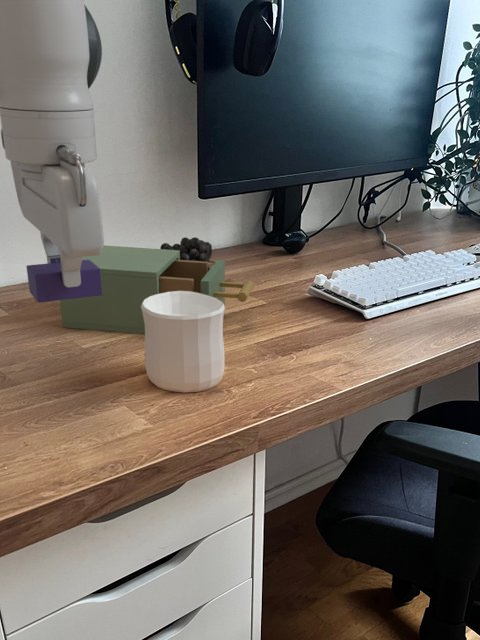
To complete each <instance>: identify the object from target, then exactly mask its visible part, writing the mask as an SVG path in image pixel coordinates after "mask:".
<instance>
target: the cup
mask: <svg viewBox="0 0 480 640" xmlns="http://www.w3.org/2000/svg"><path fill="white" fill-rule="evenodd" d="M141 309H142V313H143V318H144V323H145V334H144V349H143V350H144V367H145V368H144V369H145V372H146V375H147V377H148V379H149V381H150V382H151V383H152V384H153V385H154V386H156V387H157V388H159V389H161V390H165V391H169V392H175V393H184V394H185V393H186V394H187V393H198V392H202V391H207V390H210V389H212V388H215V387H217V386H218V385H219V383H221V380H222V379H223V377H224V374H225V371H226V370H225V367H226V366H225V364H226V363H225V362H226V361H225V357H226V356H225V353H226V352H225V342H224V333H223V332H224V314H225V310H226V306H224V304H223V303H222V301H220V300H218V299H216V298H214V297H211V296H208V295H204V294H201V293H196V292H191V291H172V292H166V293H161V294H156V295H153V296H150V297H148V298H146V299H145V300H144V301H143V303H142V305H141Z"/></svg>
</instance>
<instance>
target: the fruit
mask: <svg viewBox="0 0 480 640" xmlns="http://www.w3.org/2000/svg"><path fill="white" fill-rule="evenodd" d="M159 247H160V248H159V249H165V250H179V251H180V260H188V261H203V262H208V263H209V264H210V263H211V264H215V262H216V260H210V259H211V257H212V255H213V254H212V253H213V246H212V244H211V243H210V242H209V241H204V240H202V239H200V238H199V237H195V236H194V237H191V238H188V237H187V236H186V237H182V238H181V241H180V242H179V243H175V244H173V245H170V244H169V243H168V242H164V243H162V244H161V245H160V246H159ZM210 269H211V267H210V266H209V265H208V271H209V270H210Z"/></svg>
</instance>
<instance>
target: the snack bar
mask: <svg viewBox="0 0 480 640" xmlns="http://www.w3.org/2000/svg"><path fill="white" fill-rule="evenodd" d="M25 267H26V275H27V282H28V289H29V293H30V295H31V296H32V297H33V298H34V299H35V300H36V302H37V303H38V304H39V303H40V304H41V303H49V302H58V301H60V300H67V299H75V298H83V297H92V296H100V295H102V286H101V272H100V268H99V267H98V266H96V265H95V264H94V263H93V262H92V261H90V260H82V263H81V268H80V276H81V284H80V285H79V286H77V287H66V286H65V285H64V284H63V283H62V282H61V276H60V269H59V268H61V262H58V263H48V264H47V263H38V264H37V263H36V264H28V265H26V266H25Z"/></svg>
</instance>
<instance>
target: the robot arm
mask: <svg viewBox="0 0 480 640" xmlns="http://www.w3.org/2000/svg"><path fill="white" fill-rule="evenodd" d="M102 57H103V47H102V39H101V35H100V32H99V28H98V26H97V24H96V20H95V19H94V17H93V15H92V14H91V12H90V10H89V9H88V7H87V6H86V4H85V0H0V124H1V130H0V137H1V144H2V148H3V149H4V155H5V158H6V160H8V161H10V167H11V173H12V177H13V183H14V188H15V192H16V197H17V201H18V205H19V208H20V211H21V214H22V216H23V218H25V220H27V221H28V222H29V223H30V224H31V225H32V226H34V227H35V228H36V229H37V230H38V231H39V233H40V239H41V243H42V246H43V249H44V253H45V255H46V264H48V263H58V262H61V268H59V269H60V276H61V282H62V283H63V284H64V285H65V286H66V287H77V286H79V285H80V284H81V276H80V268H81V263H82V257H86V256H95V255H100V254H101V253H102V250H103V245H104V244H105V238H104V228H103V220H102V219H103V218H102V209H101V201H100V196H99V195H100V194H99V189H98V184H97V181H96V177H95V175H94V174H93V173H92V172H91V171H90V170H88V169H87V168H86V164H87V163H92V162H94V161H96V160H97V158H98V155H97V142H96V128H95V125H96V124H95V114H94V104H93V100H92V96H91V94H90V91H89V89H90V88H91V87H92V85H93V84H94V82H95V80H96V78H97V76H98V74H99V71H100V68H101V64H102V59H103V58H102Z"/></svg>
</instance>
